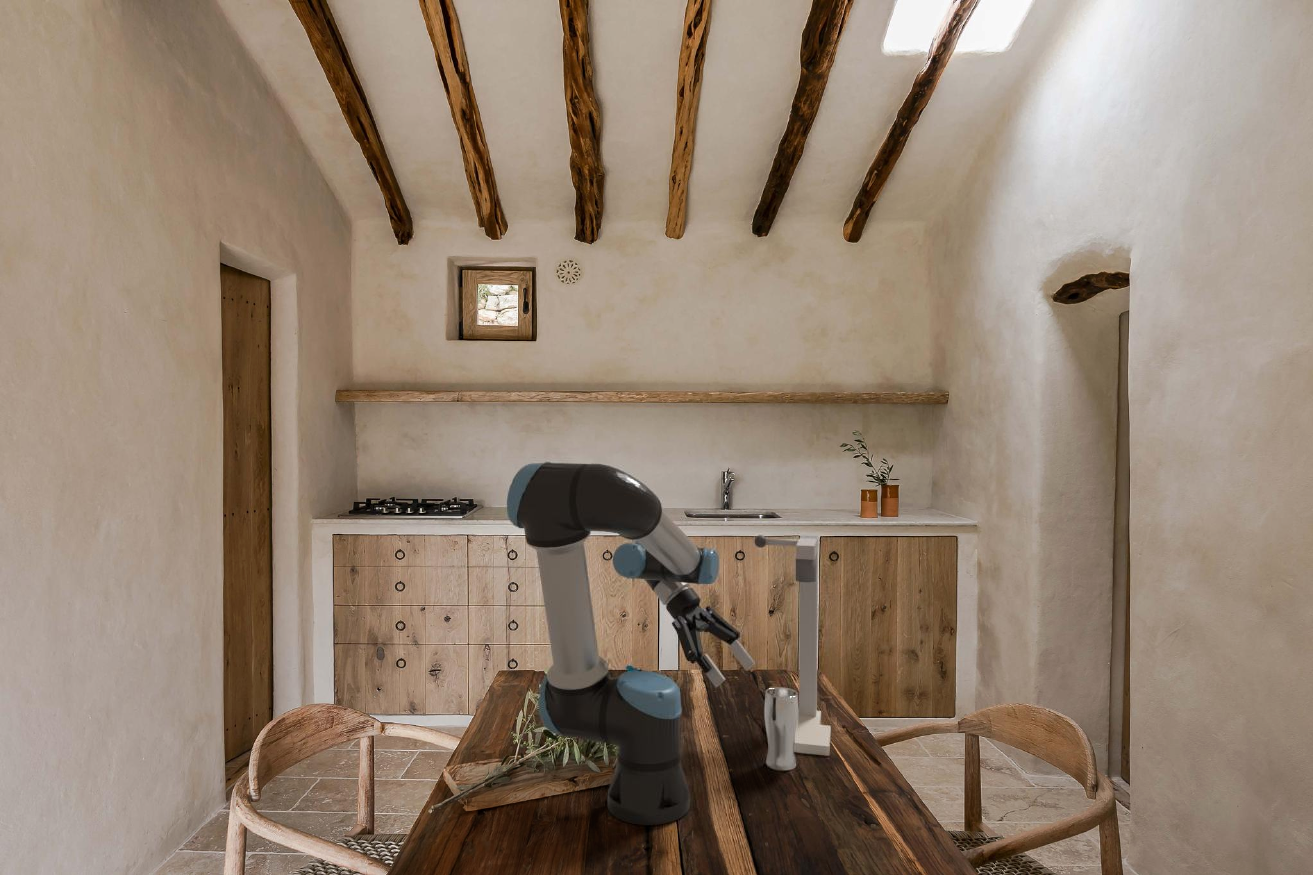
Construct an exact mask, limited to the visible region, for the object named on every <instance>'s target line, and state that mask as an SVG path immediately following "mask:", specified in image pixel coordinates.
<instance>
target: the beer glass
mask: <svg viewBox="0 0 1313 875" xmlns="http://www.w3.org/2000/svg"><path fill="white" fill-rule="evenodd" d="M764 698H765V699H764V710H763V711H764V714H763V715H764V723H765V731H766V738H767V743H768V748H767V755H766V761H765V763H766V765H767V767H769V768H770V769H771V770H772V769H773V770H775V771H781V772H782V771H783V772H784V771H785V772H786V771H787V772H788V771H791V770H794V769H795V768H796V767H797V762H796V756H795V752H794V743H795V737H796V732H797V726H798V709H799V692H797V691H796V690H794V689H792V688H788V687H784V686H783V687H782V686H781V687H779V686H777V687H776V686H775V687H769V688H767V689H766V690H765V697H764Z"/></svg>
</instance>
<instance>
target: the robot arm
mask: <svg viewBox="0 0 1313 875" xmlns="http://www.w3.org/2000/svg"><path fill="white" fill-rule="evenodd" d="M506 512H507V513H506V514H507V516H508V517H507V518H508V519H509V522H510V523H511V524H512V525H513V526H515V527H517V529H524V536H525V542H526V545H528V546H529V547H531V548H532V549H534V550H535V552H536V558H537V563H538V569H539V570H538V571H539V577H540V583H541V590H542V598H543V605H544V609H545V610H544V612H545V617H546V618H545V619H546V622H547V623H546V624H547V629H548V637H549V643H550V650H551V656H552V658H551V659H552V662H553V663H552V665H551V666H550V667H549V668H548V670H547V673H546V675H545V677H544V678H543V680H542V682H541V684H540V687H539V691H538V692H539V697H537V698H538V699H537V704H538V705H537V707H538V713H539V714H538V715H539V717H540V720H541V722H542V724H543V726H544V727H545V728H546V729H547V730H548V731H549V732H550V733H552V734H556V735H559V736H562V737H565V738H569V739H574V738H575V739H580V740H586V741H591V742H598V743H603V744H608V745H614V746H616V747H617V752H616V753H617V758H616V760H617V762H616V766H615V769H614V773H613V775H612V778H611V782H610V784H609V788H608V791H607V809H608V811H609V813H610V814H611V815H612V816H613V817H615V818H616V819H618V820H619V821H620V820H621V821H622V822H626V823H627V824H628V823H629V824H632V825H633V824H634V825H640V826H657V825H664V824H669V823H672V822H675V821H677V820H679V819H680V818H682V817H684V816H685V815H686V814H687V813H688V812H689V810H690V807H691V804H690V802H691V800H690V799H691V798H690V797H691V794H690V789H689V786H688V783H687V780H686V776H685V772H684V770H683V767H682V763H681V751H682V750H681V744H682V743H681V742H682V740H681V739H682V736H681V734H682V732H681V731H682V726H681V725H682V711H683V707H682V703H681V691H680V687H679V686H678V684H677V683H676V682H675V681H674V680H673V679H672V678H670V677H668V676H666V675H665V674H661V673H659V672H658V673H657V672H655V671H650V670H641V671H640V670H639V671H628V672H627V671H625V672H623V673H621V674H620V675H619V677H618V678H615V677H611V676H610V670H609V664H608V662H607V660H606V659H605V658H604V657H602V656H600V655H599V647H598V640H597V633H596V624H595V618H594V611H593V609H594V608H593V603H592V595H591V593H592V592H591V587H590V586H591V585H590V579H589V571H588V565H587V564H588V562H587V557H586V550H585V542H586V541H587V539H588V538H589V537H590V536H591V534H592V532H602V533H603V532H605V533H612V534H617V535H619V536H621V537H622V538H624V539H626V540H630V541H635V542H625V543H622V544H621V545H619V546H618V547H616V549H615V550H614V553H613V555H612V565H613V566H612V567H613V568H614V571H615V572H616V574H618V575H619V576H621V577H623V578H626V579H629V580H631V579H632V580H634V579H638V580H644V581H645V582H646V583H647V584H648V586H649V587H650V589H651V590H652V592H654V594H655V595H656V597H657V598H658V600H659V601H660V602H661V604H662V605H663V606H665V609H666V611H667V612H668V614H669V615H670V616H671V618H672V619H673V621H672V622H671V625H672V627H673V628H674V629H675V630H674V631H675V632H676V635H677V637H678V640H679V642H680V646H681V648H682V651H683V655H684V658H685V660H686V661H688V662H690V663H691V664H693V665H694V664H695V663H697V665H698V666H699V667H700V669H701V670H702V672H703V673H705V675H706V676H707V678H708V679H709V680H710V682H711V683H712V685H713V686H714V687H715V688H718V687H719V686H720V685H721V684H723V682H724V681H725V680H726V677H725V676H724V675H723V674H722V672H721V671H720V670H719V668H718V667H717V666H716V664H715V663H714V661H713V659H711V657H710V656H709V655H708V653H705V654H704V650H703V644H702V638H701V633H703V632H704V633H709V634H712V635H713V636H714V637H716V638H718V639H719V640H720V641H722V642H724V643H725V644H727V645H729V646H727V647H728V649H729V650H730V652H731V653H732V655H733V656H734V657H735V658H736V659H737V661H738V662H739V664H740V665H741V666H742V667H743V669H744V670H745V671H746V672H747V671H749V670H750V669H751V668H752V667H753V666H754V665H755V664H756V662H755V661H754V659H753V658H752V656H750V654H749V653H748V651H747V649H745V647H744V646H743V645H742V644H741V643H742V642H740V641H739V638H741V632H740V631H739V630H738V629H736V628H735V627H734V626H732V624H730V623H729V622H728V621H726V620H725V619H724V618H723V617H722V616H720V615H719V614H718V613H717V612H716V611H715V610H714V609H713V608H712V606H710V605H707V606H706V607H705V608H702V607H701V606H700V603H701V598H700V597H699V595H698V593H696V591H695V590H694V588H693V587H690V585H691V584H696V585H698V586H699V585H712V584H714V583H715V582H716V580H717V579H718V575H719V569H720V558H719V555H718V552H717V550H715V549H713V548H708V547H704V546H703V547H698V546H697V545H696V544H695V543H694V542H693V540H691V539H690V538H689V536H688V535H687V534H686V533H685V532H684V531H683V530H682V529H681V528H680V527H679V526H678V525H677V524H676V523H675V522H674V521H673V520H672V519H671V517H670V516H668V514H667V513H666V512H665V511H664V510H663V505H662V503H661V501H660V499H659V497H658V496H657V495H656V494H655V492H653V491H652V490H651V489H650V488H649V487H648V486H647V485H645V483H643V482H641V481H640V480H639V479H637V478H636V477H634V476H632V475H630V474H629V473H627V472H626V471H623V470H620V469H619V468H616V467H613V466H610V465H606V464H601V463H573V462H572V463H569V462H568V463H567V462H565V463H564V462H562V463H561V462H559V463H558V462H550V461H545V462H536V463H535V462H534V463H528V464H526V465H524V466H522V467H521V468H520V469H519V470H518V471H517V472H516V474H514V477H513V478H512V480H511V484H510V486H509V488H508V492H507V498H506Z"/></svg>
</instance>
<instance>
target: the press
mask: <svg viewBox="0 0 1313 875" xmlns="http://www.w3.org/2000/svg"><path fill="white" fill-rule="evenodd" d="M753 541H754V545H755V546H756V547H757V548H758V549H759V548H765V547H766V546H785V547H795V582H799V604H798V605H799V609H798V610H799V612H798V613H799V614H798V615H799V621H798V622H799V623H798V624H799V628H798V629H799V630H798V631H799V634H798V637H799V638H798V640H799V641H798V646H799V647H798V649H799V650H798V656H799V657H798V658H799V659H798V726H797V732H796V737H795V743H794V753H799V754H808V755H816V756H817V755H818V756H819V755H820V756H827V757H828V756H830V749H831V747H830V746H831V735H832V733H831V732H832V731H831V728H832V727H831V725H828V724H827V725H825V724H821V722H822V711H821V710H818V598H819V596H818V587H819V586H818V578H819V576H818V575H819V574H818V573H819V572H818V570H819V569H818V568H819V567H818V566H819V565H818V564H819V561H818V560H819V559H818V558H819V549H818V548H819V536H818V535H815V536H814V535H800V537H799V539H794V538H793V539H792V538H772V537H770V538H769V537H768V538H767V537H766V536H764V535H762V534H761V535H760V534H759V535H757V536H756V537H755V538H754V540H753Z"/></svg>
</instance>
